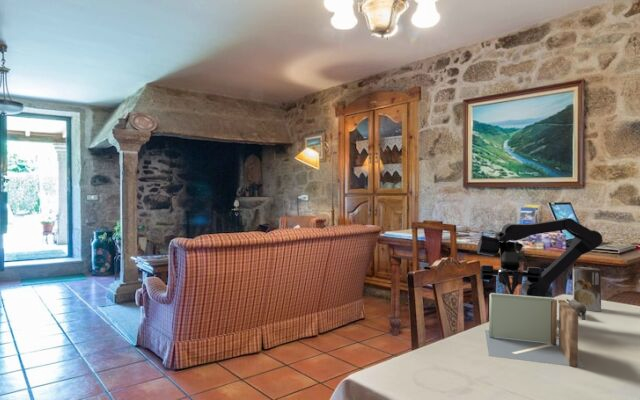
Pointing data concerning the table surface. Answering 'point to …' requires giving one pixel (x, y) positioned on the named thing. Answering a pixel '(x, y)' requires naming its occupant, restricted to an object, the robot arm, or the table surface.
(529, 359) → the card
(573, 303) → the rhino figurine
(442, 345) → the table surface
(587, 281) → the coffee box
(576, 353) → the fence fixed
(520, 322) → the panel
